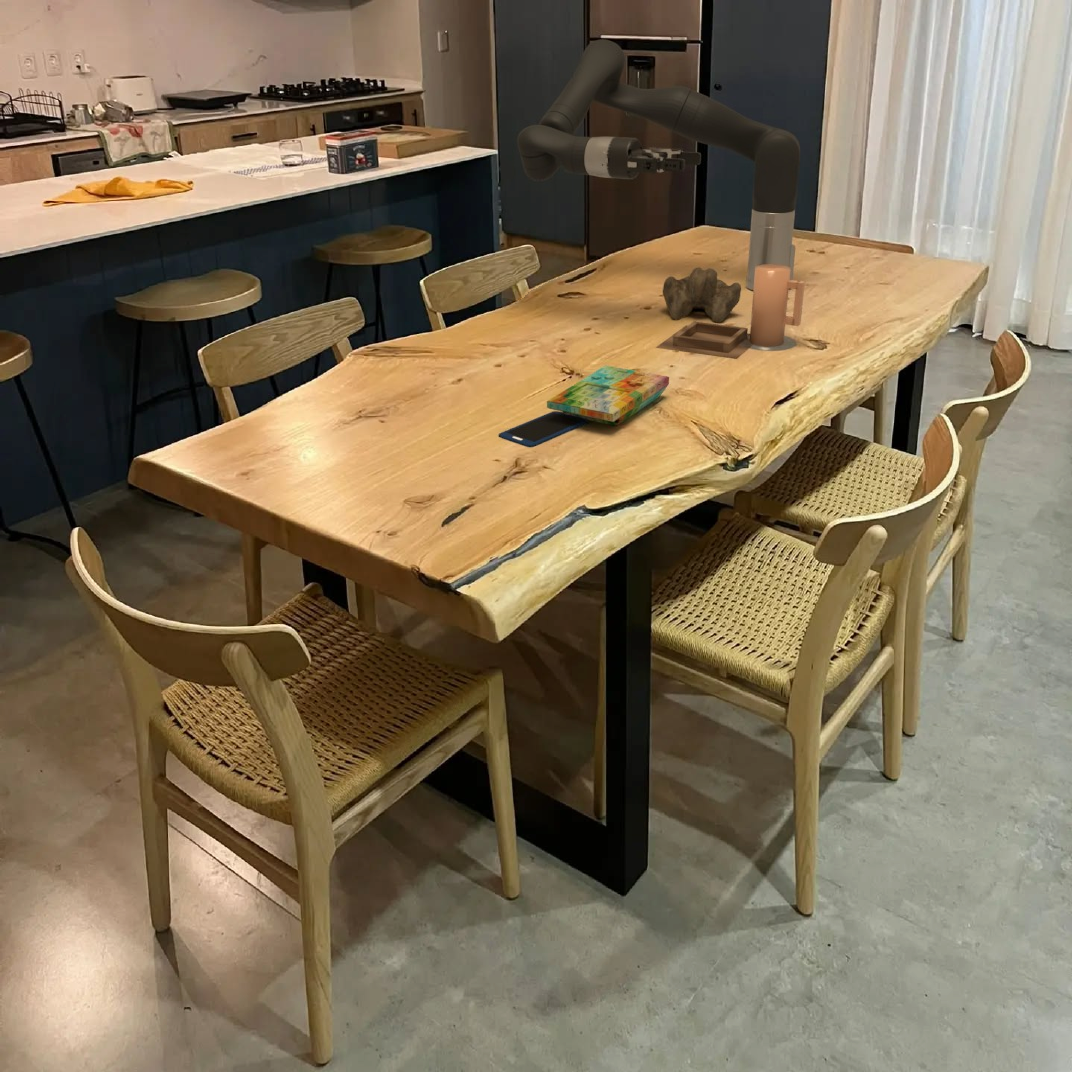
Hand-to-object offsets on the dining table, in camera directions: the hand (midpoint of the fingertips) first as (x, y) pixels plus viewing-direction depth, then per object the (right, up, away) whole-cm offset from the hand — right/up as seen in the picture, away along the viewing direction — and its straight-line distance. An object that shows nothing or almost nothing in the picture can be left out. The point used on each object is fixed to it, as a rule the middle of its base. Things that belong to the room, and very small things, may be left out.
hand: (692, 162), depth 200 cm
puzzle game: (-17, -49, -24) cm, 57 cm away
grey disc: (+15, -33, +5) cm, 37 cm away
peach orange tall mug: (+16, -33, +4) cm, 37 cm away
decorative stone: (+5, -24, +24) cm, 34 cm away
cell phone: (-28, -54, -31) cm, 68 cm away
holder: (+4, -33, +6) cm, 34 cm away
